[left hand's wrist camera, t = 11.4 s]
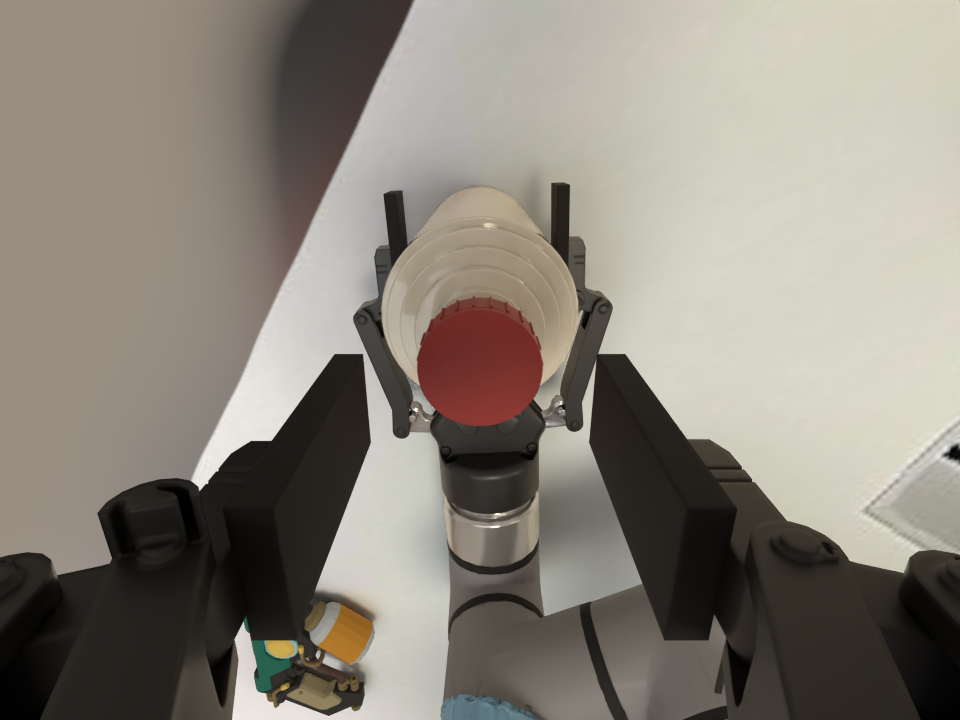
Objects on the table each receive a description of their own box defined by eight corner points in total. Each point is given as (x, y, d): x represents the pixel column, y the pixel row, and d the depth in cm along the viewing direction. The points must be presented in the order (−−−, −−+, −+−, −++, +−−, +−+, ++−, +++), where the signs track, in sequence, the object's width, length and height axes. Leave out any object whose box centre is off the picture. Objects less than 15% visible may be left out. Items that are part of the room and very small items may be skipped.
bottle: (423, 288, 41) (349, 463, 18) (430, 180, 38) (353, 221, 15) (525, 298, 42) (583, 484, 18) (540, 192, 39) (632, 252, 15)
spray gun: (360, 700, 60) (231, 665, 58) (398, 603, 53) (252, 562, 52) (350, 740, 56) (211, 704, 54) (389, 641, 49) (231, 597, 48)
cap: (416, 400, 18) (411, 422, 17) (424, 288, 17) (419, 301, 15) (530, 411, 19) (534, 433, 17) (547, 301, 17) (554, 315, 16)
